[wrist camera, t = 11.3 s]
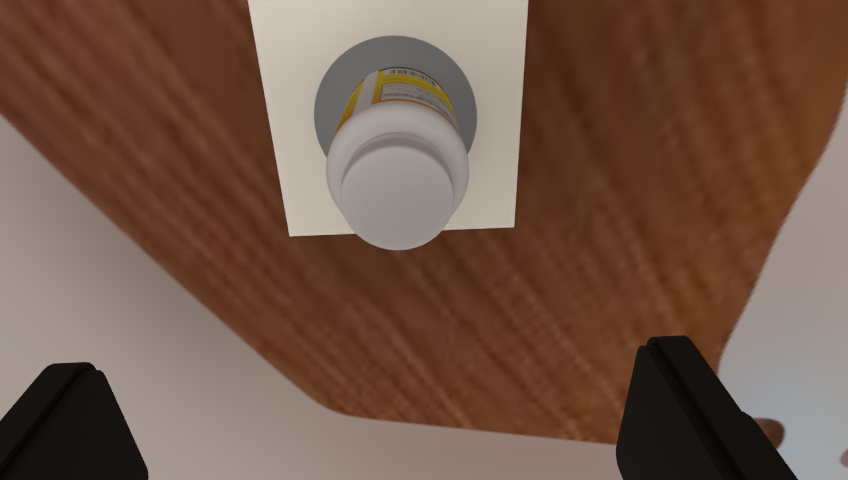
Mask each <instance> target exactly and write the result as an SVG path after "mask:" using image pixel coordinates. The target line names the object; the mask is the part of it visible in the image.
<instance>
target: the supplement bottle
mask: <svg viewBox="0 0 848 480" xmlns="http://www.w3.org/2000/svg"><path fill="white" fill-rule="evenodd" d="M326 178H327V184H328V188H329V191H330V194H331V196H332V199H333V201H334V202H335V204H336V206H337V207H338V209H339V210H340V211H341V213H342V214H343V215H344V217H345V219H346V221H347V223H348V224H349V226H350V227H351V229H352V230H353V231H354V232H355V233H356V234H357V235H358V236H359V237H361V238H362V239H363V240H365V241H366V242H368V243H370V244H372V245H374V246H377V247H380V248H383V249H389V250H406V249H412V248H416V247H418V246H421V245H424V244H425V243H427V242H429V241H430V240H432V239H433V238H435V237H436V236H437V235H438V234H439V233H440V232H441V231H442V230H443V228H444V227H445V226H446V224H447V222H448V221H449V218H450V217H451V216H452V215H453V214H454V213H455V211H456V210H457V209H458V207H459V205H460V204H461V202H462V200H463V198H464V195H465V193H466V190H467V186H468V181H469V161H468V155H467V151H466V147H465V145H464V142H463V139H462V136H461V133H460V130H459V127H458V123H457V120H456V117H455V114H454V111H453V108H452V105H451V102H450V100H449V98H448V96H447V94H446V92H445V91H444V89H443V88H442V87H441V86H440V84H439V83H438V82H437V81H436V80H434V79H433V78H432V77H431V76H429V75H428V74H426V73H424V72H422V71H420V70H417V69H414V68H411V67H405V66H392V67H386V68H382V69H379V70H377V71H375V72H373V73H371V74H369V75H368V76H366V77H365V78H364V79H363V80H361V81H360V82H359V83H358V84H357V86H356V87H355V88H354V90H353V91H352V93H351V95H350V97H349V99H348V101H347V104H346V106H345V109H344V112H343V114H342V117H341V119H340V122H339V124H338V127H337V130H336V132H335V135H334V137H333V140H332V143H331V145H330V148H329V152H328V156H327V162H326Z"/></svg>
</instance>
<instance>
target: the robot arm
mask: <svg viewBox="0 0 848 480" xmlns="http://www.w3.org/2000/svg"><path fill="white" fill-rule="evenodd" d="M616 459H617V463H618V467H619V470H620V473H621V475H622V478H623V480H798V479H797V478H796V476H795V475H794V473H793V472H792V471H791V469H790V468H789V467H788V465H787V464H786V463H785V461H784V460H783V458H782V457H781V456H780V454H779V453H778V451H777V450H776V449H775V447H774V446H773V445H772V443H771V442H770V440H769V439H768V438H767V436H766V435H765V434H764V432H763V431H762V429H761V428H760V427H759V425H758V424H757V423H756V422H755V421H754V420H753V418H752V417H751V416H749V415H748V414H746V413H744V412H742V411H741V410H740V408H739V407H738V405H737V404H736V403H735V401H734V400H733V398H732V397H731V396H730V394H729V393H728V391H727V390H726V389H725V387H724V386H723V384H722V383H721V381H720V380H719V379H718V377H717V376H716V374H715V373H714V372H713V370H712V369H711V367H710V366H709V365H708V363H707V362H706V360H705V359H704V358H703V356H702V355H701V353H700V352H699V351H698V349H697V348H696V346H695V345H694V344H693V342H692V341H691V340H690V339H689V338H688V337H686V336H662V337H651V338H650V339H649V340H648V342H647V345H646V346H640V347H639V348H638V351H637V355H636V360H635V364H634V369H633V373H632V378H631V382H630V387H629V391H628V396H627V400H626V405H625V409H624V414H623V418H622V423H621V427H620V432H619V436H618V441H617V446H616ZM0 480H148V470H147V467H146V465H145V462H144V460H143V458H142V456H141V454H140V451H139V449H138V447H137V445H136V443H135V440H134V438H133V436H132V434H131V432H130V429H129V427H128V425H127V423H126V420H125V418H124V416H123V414H122V412H121V409H120V407H119V405H118V403H117V401H116V398H115V396H114V394H113V392H112V390H111V387H110V385H109V383H108V381H107V379H106V377H105V375H104V373H103V372H102V371H100V370H96V368H95V367H94V365H92V364H90V363H88V362H82V363H81V362H79V363H59V364H52V365H49V366H47V367H46V368H45V369H44V370H43V371H42V372H41V373H40V375H39V376H38V377H37V378H36V379H35V380H34V382H33V383H32V384H31V385H30V386H29V388H28V389H27V390H26V391H25V392H24V393H23V395H22V396H21V397H20V398H19V399H18V401H17V402H16V403H15V404H14V405H13V407H12V408H11V409H10V410H9V411H8V412H7V414H6V415H5V416H4V417H3V418H2V420H1V421H0Z"/></svg>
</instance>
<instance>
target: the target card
mask: <svg viewBox="0 0 848 480" xmlns="http://www.w3.org/2000/svg"><path fill="white" fill-rule="evenodd" d="M248 4H249V9H250V15H251V21H252V26H253V32H254V38H255V43H256V49H257V55H258V60H259V66H260V72H261V77H262V83H263V89H264V94H265V100H266V106H267V111H268V117H269V122H270V128H271V134H272V139H273V145H274V151H275V156H276V162H277V168H278V173H279V179H280V185H281V190H282V196H283V202H284V207H285V213H286V219H287V224H288V230H289V235H290V236H308V235H333V234H356V233H355V232H354V231H353V230H352V229H351V227H350V226H349V224H348V223H347V221H346V219H345V217H344V215H343V214H342V213H341V211H340V210H339V209H338V207H337V206H336V204H335V202H334V201H333V199H332V196H331V194H330V191H329V188H328V184H327V178H326V162H327V156H328V152H329V148H330V145H331V143H332V140H333V137H334V135H335V132H336V130H337V127H338V124H339V122H340V119H341V117H342V114H343V112H344V109H345V106H346V104H347V101H348V99H349V97H350V95H351V93H352V91H353V90H354V88H355V87H356V86H357V84H358V83H359V82H360V81H361V80H363V79H364V78H365V77H366V76H368V75H369V74H371V73H373V72H375V71H377V70H379V69H382V68H386V67H392V66H405V67H411V68H414V69H417V70H420V71H422V72H424V73H426V74H428V75H429V76H431V77H432V78H433V79H434V80H436V81H437V82H438V83H439V84H440V86H441V87H442V88H443V89H444V91H445V92H446V94H447V96H448V98H449V100H450V102H451V105H452V108H453V111H454V114H455V117H456V120H457V123H458V127H459V130H460V133H461V136H462V139H463V142H464V145H465V147H466V151H467V155H468V161H469V181H468V186H467V190H466V193H465V195H464V198H463V200H462V202H461V204H460V205H459V207H458V209H457V210H456V211H455V213H454V214H453V215H452V216H451V217H450V218H449V221H448V222H447V224H446V226H445V227H444V228H443V230H457V229H482V228H506V227H514V221H515V205H516V189H517V173H518V157H519V141H520V125H521V109H522V93H523V77H524V61H525V45H526V29H527V13H528V0H248Z"/></svg>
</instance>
